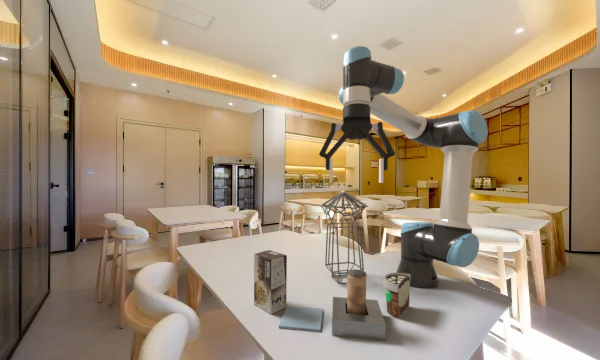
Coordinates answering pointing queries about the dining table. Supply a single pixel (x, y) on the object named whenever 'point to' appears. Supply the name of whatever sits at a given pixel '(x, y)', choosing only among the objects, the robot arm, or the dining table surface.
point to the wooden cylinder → (356, 292)
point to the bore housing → (358, 321)
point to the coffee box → (270, 280)
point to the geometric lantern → (351, 199)
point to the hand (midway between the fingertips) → (355, 182)
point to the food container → (397, 293)
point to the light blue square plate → (302, 318)
